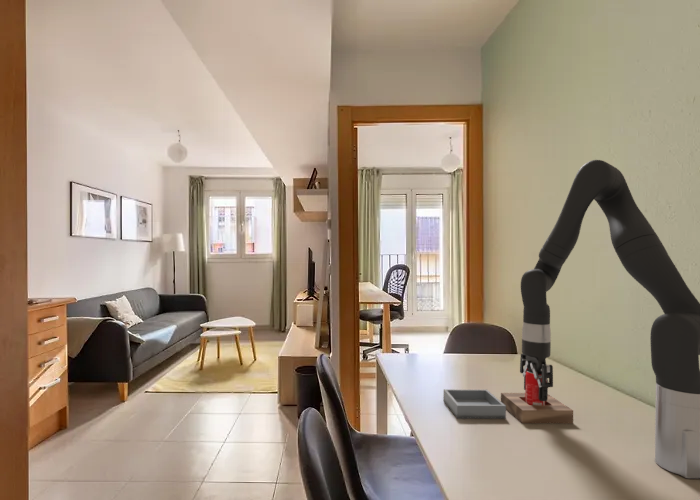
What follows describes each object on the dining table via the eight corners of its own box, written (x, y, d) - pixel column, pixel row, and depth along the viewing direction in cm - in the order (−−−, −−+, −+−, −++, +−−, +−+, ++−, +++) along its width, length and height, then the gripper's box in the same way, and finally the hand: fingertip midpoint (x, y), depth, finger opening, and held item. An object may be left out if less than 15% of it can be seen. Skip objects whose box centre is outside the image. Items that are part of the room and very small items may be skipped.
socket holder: (573, 423, 111) (573, 410, 111) (522, 423, 110) (522, 410, 110) (545, 404, 125) (546, 392, 125) (500, 404, 124) (501, 392, 124)
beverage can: (524, 414, 116) (525, 372, 116) (525, 408, 121) (526, 367, 121) (544, 418, 114) (545, 375, 114) (545, 412, 118) (546, 370, 119)
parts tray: (505, 418, 113) (505, 405, 113) (457, 418, 112) (457, 405, 113) (486, 400, 127) (487, 389, 127) (443, 400, 126) (443, 389, 126)
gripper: (562, 344, 111) (561, 404, 111) (536, 334, 125) (535, 387, 125) (535, 344, 110) (534, 404, 110) (512, 333, 125) (511, 387, 124)
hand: (535, 395), depth 117 cm, fingers open, 8 cm apart
